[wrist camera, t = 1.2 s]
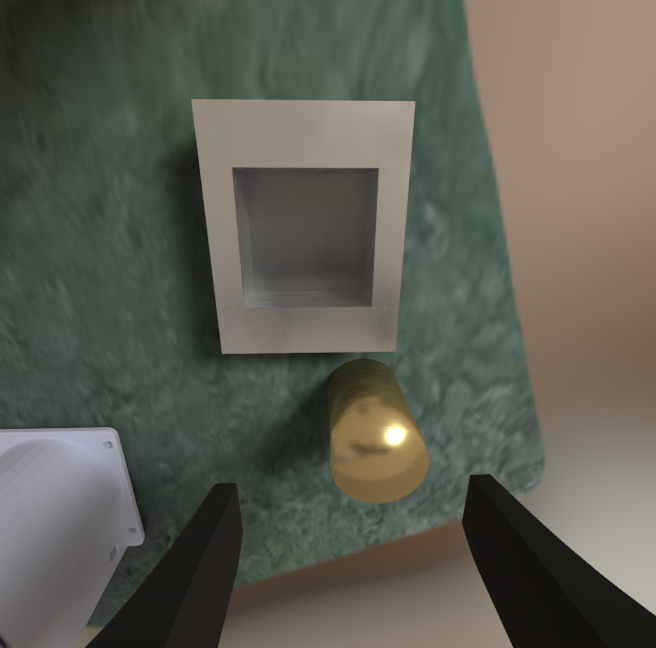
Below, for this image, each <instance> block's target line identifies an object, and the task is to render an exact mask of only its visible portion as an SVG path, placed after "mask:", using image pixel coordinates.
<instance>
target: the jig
mask: <svg viewBox="0 0 656 648" xmlns="http://www.w3.org/2000/svg"><path fill="white" fill-rule="evenodd" d="M192 108H193V116H194V124H195V133H196V141H197V149H198V157H199V166H200V174H201V182H202V191H203V199H204V207H205V216H206V224H207V232H208V241H209V249H210V257H211V266H212V274H213V282H214V291H215V299H216V307H217V316H218V324H219V332H220V341H221V349H222V354H245V353H320V352H394V351H395V350H396V337H397V325H398V312H399V299H400V287H401V274H402V262H403V249H404V236H405V224H406V211H407V199H408V186H409V174H410V161H411V148H412V136H413V123H414V111H415V102H412V101H318V100H225V99H192Z"/></svg>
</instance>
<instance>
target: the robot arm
mask: <svg viewBox="0 0 656 648" xmlns="http://www.w3.org/2000/svg"><path fill="white" fill-rule="evenodd" d="M109 442H111V443H112V444H110V443H109ZM462 525H463V529H464V532H465V535H466V538H467V541H468V544H469V547H470V550H471V553H472V556H473V558H474V561H475V564H476V566H477V568H478V571H479V573H480V575H481V577H482V579H483V582H484V584H485V586H486V589H487V591H488V593H489V595H490V597H491V600H492V602H493V604H494V606H495V608H496V611H497V613H498V615H499V617H500V619H501V621H502V624H503V626H504V628H505V631H506V632H507V635H508V637H509V639H510V641H511V644H512V646H513V648H656V616H655V615H654V614H652V613H651V612H650V611H648V610H647V609H646V608H644V607H643V606H642V605H640V604H639V603H638V602H636V601H635V600H634V599H633V598H631V597H630V596H628V595H627V594H626V593H625V592H623V591H622V590H621V589H619V588H618V587H617V586H615V585H614V584H613V583H611V582H610V581H609V580H608V579H607V578H605V577H604V576H603V575H601V574H600V573H599V572H598V571H597V570H595V569H594V568H593V567H592V566H591V565H589V564H588V563H587V562H586V561H585V560H583V559H582V558H581V557H580V556H578V555H577V554H576V553H575V552H574V551H573V550H571V549H570V548H569V547H568V546H567V545H566V544H565V543H564V542H562V541H561V540H560V539H559V538H558V537H557V536H556V535H554V534H553V533H552V532H551V531H550V530H549V529H548V528H547V527H546V526H544V525H543V524H542V523H541V522H540V521H539V520H538V519H537V518H536V517H535V516H534V515H532V514H531V513H530V512H529V511H528V510H527V509H526V508H525V507H524V506H523V505H522V504H521V503H520V502H519V501H518V500H517V499H515V498H514V497H513V496H512V495H511V494H510V493H509V492H508V491H507V490H506V489H505V488H504V487H503V486H502V485H501V484H500V483H499V482H498V481H496V480H495V479H494V478H493V477H492V476H491V475H490V474H485V475H470V480H469V485H468V491H467V497H466V502H465V508H464V514H463V519H462ZM242 535H243V527H242V520H241V513H240V506H239V499H238V491H237V484H236V483H221V484H215V485H214V486H213V487H212V489H211V491H210V492H209V494H208V495H207V497H206V498H205V500H204V501H203V503H202V504H201V506H200V507H199V509H198V510H197V512H196V513H195V514H194V516H193V517H192V519H191V520H190V522H189V523H188V524H187V526H186V527H185V529H184V530H183V531H182V533H181V534H180V535H179V537H178V538H177V540H176V541H175V542H174V544H173V545H172V546H171V548H170V549H169V550H168V552H167V553H166V554H165V556H164V557H163V558H162V559H161V561H160V562H159V563H158V564H157V566H156V567H155V568H154V569H153V571H152V572H151V573H150V574H149V576H148V577H147V578H146V579H145V581H144V582H143V583H142V584H141V586H140V587H139V588H138V589H137V590H136V592H135V593H134V594H133V595H132V596H131V598H130V599H129V600H128V601H127V602H126V603H125V605H124V606H123V607H122V608H121V609H120V610H119V611H118V612H117V614H116V615H115V616H114V617H113V618H112V619H111V620H110V621H109V622H108V624H107V625H106V626H105V627H104V628H103V629H102V630H101V631H100V632H99V634H98V635H97V636H96V637H95V638H94V639H93V640H92V641H91V642H90V643H89V644H88V645H87V646H86V647H85V648H218V644H219V640H220V636H221V632H222V628H223V624H224V620H225V616H226V613H227V609H228V605H229V601H230V596H231V593H232V589H233V585H234V581H235V577H236V573H237V568H238V562H239V556H240V549H241V542H242ZM144 539H145V534H144V530H143V526H142V523H141V519H140V515H139V511H138V507H137V504H136V500H135V496H134V492H133V489H132V485H131V481H130V477H129V473H128V470H127V466H126V462H125V458H124V455H123V451H122V447H121V443H120V439H119V436H118V433H117V431H116V430H115V429H113V428H110V427H94V428H45V429H0V648H74V646H75V644H76V643H77V641H78V639H79V637H80V635H81V634H82V632H83V630H84V628H85V626H86V624H87V622H88V620H89V618H90V616H91V615H92V613H93V611H94V609H95V607H96V605H97V603H98V601H99V599H100V598H101V596H102V594H103V592H104V590H105V588H106V586H107V584H108V582H109V581H110V579H111V577H112V575H113V573H114V571H115V569H116V567H117V565H118V564H119V562H120V560H121V558H122V556H123V554H124V552H125V550H126V548H127V547H128V546H139V545H141V544H142V543H143V541H144Z"/></svg>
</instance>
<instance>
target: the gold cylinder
mask: <svg viewBox="0 0 656 648" xmlns="http://www.w3.org/2000/svg"><path fill="white" fill-rule="evenodd" d="M327 404H328V421H329V439H330V456H331V472H332V477H333V479H334V482H335V483H336V485H337V487H338V488H339V489H340V490H341V491H342V492H343V493H345V494H346V495H347V496H349V497H351V498H353V499H355V500H358V501H361V502H366V503H386V502H391V501H395V500H397V499H400V498H402V497H404V496H406V495H408V494H410V493H411V492H412V491H414V490H415V489H416V488H417V487H418V486H419V485H420V484H421V483H422V481H423V480H424V478H425V476H426V474H427V472H428V468H429V455H428V451H427V449H426V446H425V444H424V442H423V439H422V437H421V435H420V432H419V430H418V428H417V425H416V423H415V421H414V419H413V416H412V414H411V412H410V409H409V407H408V405H407V402H406V400H405V398H404V395H403V393H402V391H401V388H400V386H399V384H398V382H397V379H396V377H395V375H394V373H393V372H392V371H391V370H390V368H388V367H387V366H386V365H384V364H383V363H381V362H379V361H376V360H372V359H357V360H353V361H350V362H347V363H345V364H344V365H342V366H340V367H339V368H338V369H337V370H336V371H335V372H334V373H333V374H332V376H331V378H330V379H329V382H328V386H327Z"/></svg>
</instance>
